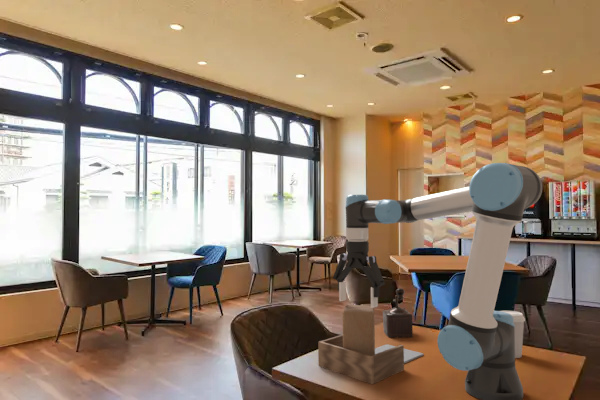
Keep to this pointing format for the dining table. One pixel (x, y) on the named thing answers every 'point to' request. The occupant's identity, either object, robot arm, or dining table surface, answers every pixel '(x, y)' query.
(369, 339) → the block
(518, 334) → the coffee cup
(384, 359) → the bracket
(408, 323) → the dark statue on base
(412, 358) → the mat
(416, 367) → the dining table surface
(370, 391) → the dining table surface
